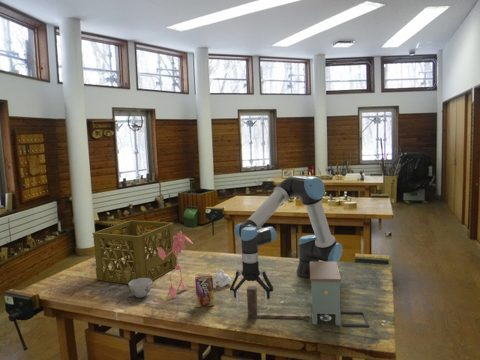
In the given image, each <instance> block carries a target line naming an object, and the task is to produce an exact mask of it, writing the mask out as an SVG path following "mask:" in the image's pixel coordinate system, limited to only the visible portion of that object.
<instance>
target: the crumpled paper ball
mask: <svg viewBox="0 0 480 360" xmlns="http://www.w3.org/2000/svg"><path fill="white" fill-rule="evenodd" d="M212 277H213V289H216V287H217V286H219V287H220V288H224V287H225V286H226V285H228V284H230V283H231V282H233V281H234V279H233V278H232V277H230V276H229V274H227V273H225V271H224V270H223V269H221V268H219V270H218V271H217V272H216V273H215V274H214V275H213V276H212Z"/></svg>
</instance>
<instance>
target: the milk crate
mask: <svg viewBox="0 0 480 360" xmlns="http://www.w3.org/2000/svg"><path fill="white" fill-rule="evenodd" d="M174 224H175V222H166V221H165V222H163V221H150V220H149V221H148V220H135V219H134V220H131V219H130V220H127V221H125V222H121V223H118V224H115V225H113V226H109V227H106V228H104V229H100V230H98V231H94V232H92V233H91V234H92V235H93V236H92V238H93V246H94V247H93V248H94V255H95V256H94V259H95V274H96V275H95V276H96V280H98V281H105V282H110V283H119V284H126V285H129V282H130V281H132V280H135V279H139V278H149V279H151V280H152V282H153V281H154V280H156V279H159V277H161V276H163V275H164V274H166V273H168V272H170V271H171V270H173V269H175V266H176V265H178V264H177V258H176V256H177V255H176V256H175V254H176V251H174V253H175V254H174V253H173V252H172V253H170V252H171V251H172V248H173V243H174V240H173V236H175V230H174V229H175V226H174ZM139 226H142V227H141V229H140V227H139ZM146 227H157V228H156V229H153V230H151V229H147V228H146ZM123 228H125V230H123ZM117 230H119V232H118V233H117V234H114V233H111V232H114V231H117ZM144 231H145V232H146V233H143V232H144ZM160 233H161V234H160ZM153 237H154V238H153ZM115 241H116V243H114V242H115ZM164 242H165V243H164ZM163 243H164V244H163ZM107 244H108V245H109V246H107ZM157 246H158V247H157ZM159 247H161V248H162V249H163V250H164V251H165V255H168V254H169V253H170V254H169V255H168V256H167V257H165V259H164V260H162V259H161V258H160V257H159V255H158V249H159ZM109 265H110V266H111V268H109Z"/></svg>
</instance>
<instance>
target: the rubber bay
mask: <svg viewBox="0 0 480 360" xmlns="http://www.w3.org/2000/svg"><path fill="white" fill-rule="evenodd" d="M340 314H348V315H349V314H351V315H355V314H356V315H362V317H363V319H364V322H365V323H351V322H350V323H349V322H344V323H342V327H360V328H361V327H362V328H363V327H364V328H365V327H366V328H367V327H368V328H369V327H370V324H369V321H368V318H367V314H366V311H363V310H362V311H359V310H354V311H353V310H340Z"/></svg>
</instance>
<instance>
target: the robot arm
mask: <svg viewBox="0 0 480 360" xmlns="http://www.w3.org/2000/svg"><path fill="white" fill-rule="evenodd" d="M325 190H326V187H325V183H324V181H323V180H322V179H321V178H320V177H317V176H313V175H309V176H306V175H291V176H289V177H287V178H286V179H284V180H282V181H281V182H279V183H278V184H277V185H276V186H275V187H274V189H273V192H272V193H271V194H270V196H268V198H266V199H265V200H264V201H263V203H262V204H260V206H259V207H258V208H257V209H256V210H255V211H254V212H253V213H252V214H251V215H250V216H249V217H248V218H247V220H246V221H245V222H243V223H242V222H240V223H238V224H236V226H235V227H234V230H233V231H234V232H233V233H234V235H235V236H236V238H238V239H240V243H241V245H240V246H241V259H242V264H241V265H242V271H241V270H239V269H237V270H236V272H235V277H234V279H233V280H232V283H231V285H230V287H229V291H230V292H233V298H234V299H236V306H237V307H239V305H240V295H239V294H240V293H239V292H240V291H239V289H240V288H241V286H242V285H243V284H244V283H245V282H246V281H247V282H256V283H258V284H259V285H260V286H261V288H262V289H263V290H264V291H265V293H264V299H265V300H264V301H265V307H268V304H269V301H268V300H270V298H271V295H270V294H271V292H274V286H273V284H272V283H271V281H270V279H269V277H268V276H267V272H266V270H265V269H264V270H262V271H260V265H259V247H260V246H264V245H267V244H271V243H273V242H275V241H276V239H277V231H276V229H275V228H274V227H273V226H265V227H263V225H264V224H265V223H266V222H267V221H268V220H269V219H270V218H271V217H272V215H273V214H275V212H276V211H277V210H278V209H279V208H280V207H281V206H282V204H283V203H284V202H287V201H289V199H292V198H299V199H300V201H301V204H302V205H303V206H305V207H306V211H307V214H308V218H309V221H310V223H311V228H312V229H313V233H314V234H308V235H303V236H301V237H299V238H298V244H297V245H298V260H299V261H298V264H297V268H296V276H298V277H300V278H304V279H310V261H313V262H337V263H338V262H339V261H340V259H341V257H342V255H343V245H342V243H339V242H337V240H336V237H335V236H334V235H332V233H331V229H330V226H329V223H328V219H327V217H326V214H325V213H326V212H325V210H324V206H323V203H322V201H323V198H324V197H325V193H326V192H325ZM241 275H242V277H243V278H242V279H240V282H238V281H237V280H238V278H239V277H240V276H241ZM260 276H261V277H263V280H264V281H265V282H264V281H263V280H262V279H261V277H260ZM237 282H238V284H237V285H236V286H235V284H236V283H237ZM265 283H266V284H265ZM234 286H235V287H234Z"/></svg>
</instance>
